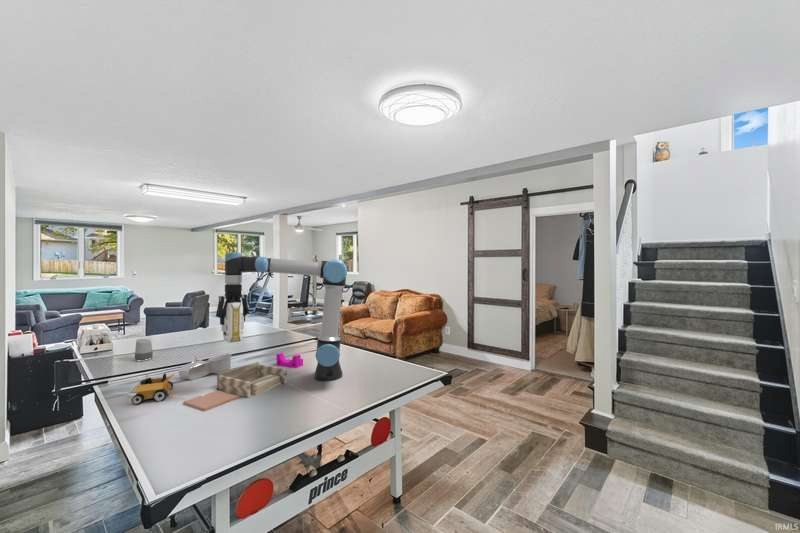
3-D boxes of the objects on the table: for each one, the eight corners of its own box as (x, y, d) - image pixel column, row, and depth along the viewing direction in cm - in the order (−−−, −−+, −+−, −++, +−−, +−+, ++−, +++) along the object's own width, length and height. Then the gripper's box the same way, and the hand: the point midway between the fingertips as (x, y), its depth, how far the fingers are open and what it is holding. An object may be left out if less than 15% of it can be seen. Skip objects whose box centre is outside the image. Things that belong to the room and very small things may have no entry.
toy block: (303, 366, 211) (303, 353, 211) (296, 368, 205) (296, 356, 205) (283, 363, 216) (283, 351, 216) (276, 366, 210) (276, 354, 210)
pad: (238, 398, 159) (238, 396, 159) (205, 411, 145) (204, 408, 145) (217, 392, 166) (217, 390, 166) (183, 403, 152) (183, 401, 152)
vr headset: (205, 373, 195) (202, 353, 195) (214, 373, 191) (211, 353, 191) (179, 381, 183) (176, 360, 183) (188, 381, 178) (185, 360, 179)
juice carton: (238, 338, 174) (238, 301, 174) (243, 341, 168) (244, 302, 168) (221, 340, 169) (222, 301, 169) (227, 343, 162) (227, 303, 163)
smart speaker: (145, 362, 219) (145, 340, 220) (131, 362, 220) (131, 340, 220) (156, 358, 229) (156, 337, 229) (142, 358, 229) (142, 337, 229)
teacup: (241, 368, 201) (238, 351, 200) (225, 377, 186) (223, 359, 186) (222, 370, 202) (219, 353, 202) (205, 379, 187) (202, 361, 187)
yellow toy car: (139, 394, 165) (139, 372, 165) (176, 389, 171) (176, 368, 171) (129, 405, 151) (129, 381, 151) (169, 400, 157) (169, 377, 157)
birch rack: (287, 382, 180) (286, 367, 180) (248, 397, 159) (248, 380, 159) (257, 376, 191) (256, 361, 191) (217, 389, 170) (217, 373, 170)
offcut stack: (280, 385, 177) (280, 376, 177) (255, 396, 162) (255, 385, 162) (270, 383, 180) (270, 374, 180) (245, 393, 165) (245, 383, 165)
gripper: (247, 282, 179) (247, 326, 179) (207, 284, 161) (206, 332, 161) (257, 283, 176) (256, 327, 175) (216, 284, 157) (216, 334, 157)
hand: (232, 329), depth 168 cm, fingers closed on juice carton, 9 cm apart
